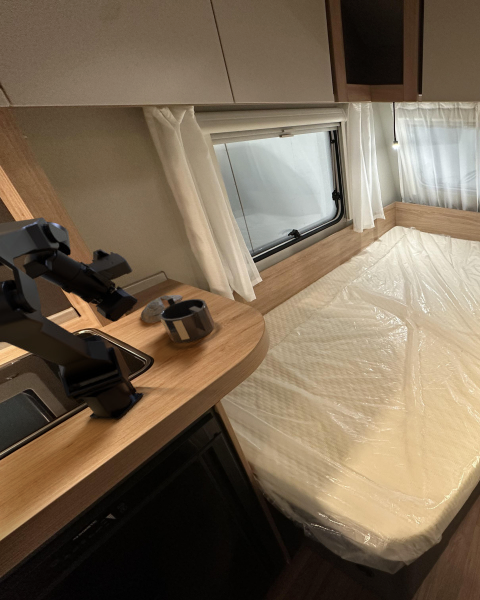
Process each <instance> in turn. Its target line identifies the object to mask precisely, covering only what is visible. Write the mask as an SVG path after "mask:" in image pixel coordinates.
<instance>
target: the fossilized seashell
mask: <svg viewBox="0 0 480 600" xmlns="http://www.w3.org/2000/svg"><path fill="white" fill-rule="evenodd" d="M162 296H163V295H161V296H159V297H157V298H155V299H153V300H151V301H150V302H148V303H147V305H146V306H145V307H144V308H143V309H142V311H141V313H140V319H141V320H142V322H145V323H147V324H152V323H158V322H161V320H160V317H159V314H160V313H161V312H162V310H164V309H165V307H164V305H163V303H162V301H161V299H160V297H162ZM166 296H169V297H172V298H173V300H174V302H175V303H177V302H180V301H183V298H184V297H183V296H182V295H180V294H169V295H166Z"/></svg>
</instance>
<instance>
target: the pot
mask: <svg viewBox="0 0 480 600" xmlns="http://www.w3.org/2000/svg"><path fill="white" fill-rule="evenodd" d="M161 296H162V297H161ZM161 296H159V297H160V299H161V301H162V303H163V305H164V307H165V309H164V310H162V312H161V313H160V314H159V317H160V320H161V321H160V322H161V323H162V326H163V327H164V329H165V332H166V333H167V335H168V337H169V339H170V340H171V341H172V342H174V343H176V344H185V343H191V342H195V341H198V340H200V339H203V338H204V337H206V336H208V335H209V334H210V333H211V332H212V331H213V330H214V329H215V326H216V324H215V321H214V318H213V317H212V314H211V312H210V308H209V307H208V304H207V302H206V300H204V299H202V298H190V299H184V300H181V301H180V302H177V303H175V302H174V300H173V298H172V297H169V296H167V295H166V294H164V295H161Z"/></svg>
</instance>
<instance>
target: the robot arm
mask: <svg viewBox="0 0 480 600" xmlns="http://www.w3.org/2000/svg"><path fill="white" fill-rule="evenodd" d="M69 234H70V233H69V230H68V229H67V228H66V227H64V226H63V225H61V224H59V223H55V222H52V221H47V220H46V219H45V218H44V217H35V218H29V219H22V220H15V221H8V222H1V223H0V267H6V268H7V269H9V270H10V271H12V274H13V279H5V280H2V281H0V343H6V344H8V345H11V346H13V347H16V348H18V349H20V350H23V351H25V352H27V353H30V354H32V355H34V356H36V357H39V358H42V359H44V360H46V361H48V362H51V363H54V364H56V365H57V366H58V377H59V379H60V381H61V384H62V386H63V389H64V392H65V396H66V398H67V399H68V400H70V401H71V402H76V401H78V400H80V399H82V400H83V401H84V403H85V404H86V405H87V406H88V407H89V409H90V410H91V411H92V413H91V414H90V415H89V418H90V419H93V420H94V419H95V420H119V419H121V418H122V417H124V416H125V414H127V412H128V411H129V410H130V409H131V408H132V407H133V406H135V404H137V402H138V401H140V400H141V399H142V398H143V397H144V393H143V392H137V389H136V387H135V386H134V385H133V383H132V381H131V380H130V379H129V373H130V369H129V366H128V364H127V363H126V360H125V358H124V356H123V354H122V352H121V350H120V349H119V348H118V346H116V345H113V344H111V343H110V342H109V341H108V339H105V338H103V337H102V335H99V334H93V335H89V336H87V337H83V338H81V337H79V336H77V335H76V334H74V333H72V332H70V331H69V330H67V329H66V328H64V327H62V326H61V325H59V324H58V323H56V322H54V321H52V320H51V319H50V318H48V317H46V316H44V315H43V314H42V310H41V309H42V304H41V299H40V295H39V290H38V286H37V282H36V281H35V279H37V278H41V279H43V280H45V281H47V282H49V283H51V284H53V285H54V286H57V287H58V288H60V289H61V290H62V291H64V292H65V293H67V294H70V295H71V294H73V295H75V296H76V297H78V298H79V299H81V300H82V301H83V302H85V303H87V304H93V305H95V308H96V312H97V313H98V314H100V315H101V316H102V317H103V318H104V319H106V320H108V321H110V322H112V323H114V322H118V321H119V320H120V319H121V318H122V317H123V316H124V315H125V314H127V312H130V311H132V310H133V309H134V307H135V305H136V304H137V303H138V299H137V298H136V297H135V296H133V295H132V294H131V293H129V292H128V291H125V289H123V287H121V286H119V285H118V286H117V287H116V283H115V282H114V280H116V279H118V278H121V277H122V276H124V275H130V273H132V272H133V269H132V266H130V263H129V262H128V261H127V259H126V258H125V257H123V256H122V255H121V254H119V253H116V252H113V251H111V252H110V253H109V252H107V251H105V250H103V249H101V248H99V249H96V250H94V251H92V259H91V262H90V263H85V262H84V261H78V260H75V258H72V257H70V255H71V254H72V250H71V242H70V235H69ZM23 256H26V257H25V258H24V263H23V264H22V268H24V271H25V272H24V271H23V270H21V269H20V268H19V267H17V266H16V265H15V262H14V260H16V259H18V258H20V257H23Z"/></svg>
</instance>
